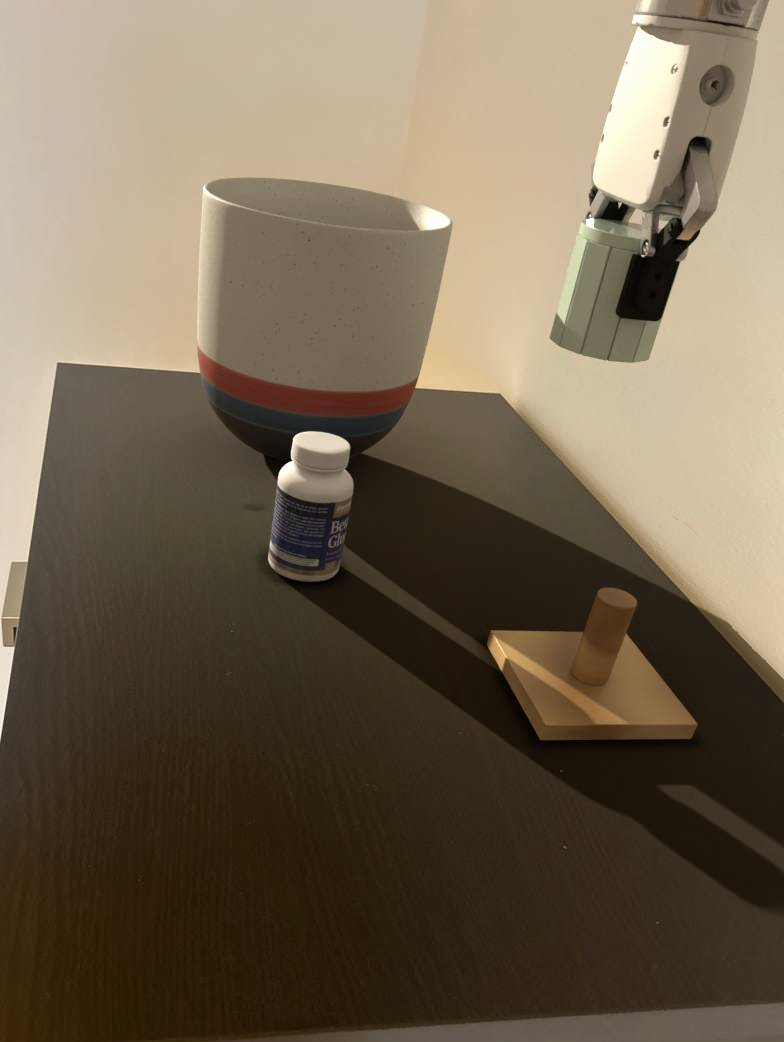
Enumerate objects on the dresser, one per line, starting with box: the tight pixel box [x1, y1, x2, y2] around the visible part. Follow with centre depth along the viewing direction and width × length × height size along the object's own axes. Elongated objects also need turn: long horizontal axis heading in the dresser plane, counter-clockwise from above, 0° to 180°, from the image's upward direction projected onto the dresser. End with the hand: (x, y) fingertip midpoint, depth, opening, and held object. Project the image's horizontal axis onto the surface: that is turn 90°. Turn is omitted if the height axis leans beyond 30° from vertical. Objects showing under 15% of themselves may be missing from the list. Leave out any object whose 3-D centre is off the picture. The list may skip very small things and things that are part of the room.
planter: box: [196, 176, 454, 463], centre depth 82 cm, size 20×20×21 cm
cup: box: [549, 218, 681, 364], centre depth 66 cm, size 7×7×8 cm
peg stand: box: [486, 587, 698, 741], centre depth 58 cm, size 10×10×7 cm
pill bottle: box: [267, 431, 355, 583], centre depth 67 cm, size 5×5×10 cm
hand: (613, 301), depth 67 cm, fingers closed on cup, 7 cm apart
